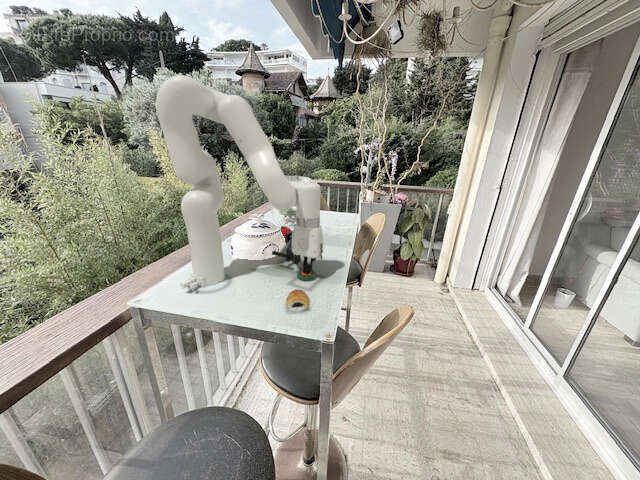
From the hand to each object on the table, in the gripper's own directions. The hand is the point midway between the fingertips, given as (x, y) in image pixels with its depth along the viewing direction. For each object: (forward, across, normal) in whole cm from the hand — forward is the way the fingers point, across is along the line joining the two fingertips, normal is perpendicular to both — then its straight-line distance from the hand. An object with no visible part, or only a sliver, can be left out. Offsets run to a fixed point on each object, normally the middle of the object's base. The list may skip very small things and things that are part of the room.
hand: (307, 272), depth 92 cm
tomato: (+3, -29, +27) cm, 40 cm away
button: (+2, 0, 0) cm, 2 cm away
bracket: (+3, -11, +9) cm, 15 cm away
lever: (-5, -11, +5) cm, 13 cm away
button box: (+3, 0, 0) cm, 3 cm away
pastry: (+3, +5, -14) cm, 15 cm away
